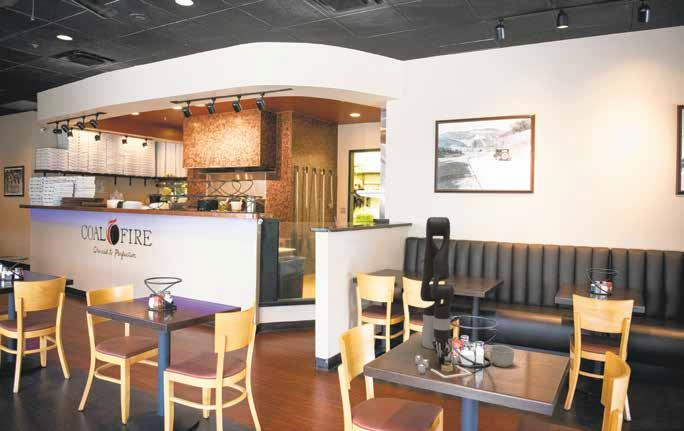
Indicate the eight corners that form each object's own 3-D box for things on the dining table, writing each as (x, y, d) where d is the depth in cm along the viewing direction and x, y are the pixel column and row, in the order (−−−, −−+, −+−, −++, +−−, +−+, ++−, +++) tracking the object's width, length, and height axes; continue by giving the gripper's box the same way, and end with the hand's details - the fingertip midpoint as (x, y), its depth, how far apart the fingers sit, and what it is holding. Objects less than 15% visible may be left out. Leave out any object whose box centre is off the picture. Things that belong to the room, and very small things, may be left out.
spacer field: (404, 364, 227) (404, 356, 227) (455, 358, 237) (455, 350, 237) (420, 374, 214) (420, 366, 214) (473, 367, 224) (473, 358, 224)
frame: (430, 370, 220) (430, 368, 220) (457, 366, 225) (457, 365, 225) (444, 378, 209) (444, 377, 209) (471, 374, 215) (472, 373, 215)
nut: (438, 370, 220) (438, 364, 220) (443, 367, 224) (443, 361, 224) (450, 372, 217) (450, 367, 217) (454, 369, 221) (454, 364, 221)
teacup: (510, 361, 233) (511, 345, 232) (516, 369, 222) (517, 352, 222) (481, 360, 234) (481, 344, 234) (485, 368, 223) (485, 351, 223)
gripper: (457, 330, 219) (456, 368, 219) (440, 323, 231) (440, 359, 232) (443, 331, 216) (442, 370, 216) (427, 324, 228) (426, 361, 229)
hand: (441, 364), depth 224 cm, fingers closed
